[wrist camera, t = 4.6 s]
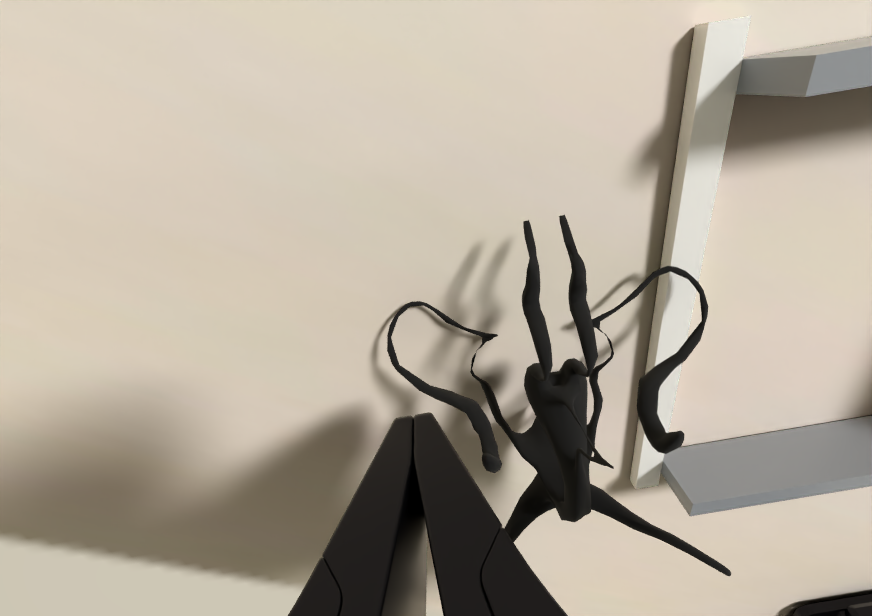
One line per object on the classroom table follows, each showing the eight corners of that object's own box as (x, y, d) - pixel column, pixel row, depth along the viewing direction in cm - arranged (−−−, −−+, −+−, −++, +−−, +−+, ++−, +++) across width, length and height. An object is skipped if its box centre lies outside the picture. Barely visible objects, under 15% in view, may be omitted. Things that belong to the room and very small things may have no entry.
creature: (370, 230, 10) (422, 474, 13) (305, 307, 5) (411, 674, 8) (689, 182, 10) (670, 446, 13) (949, 216, 5) (821, 640, 8)
